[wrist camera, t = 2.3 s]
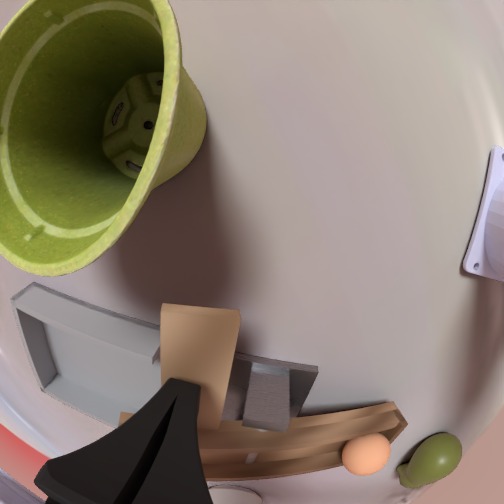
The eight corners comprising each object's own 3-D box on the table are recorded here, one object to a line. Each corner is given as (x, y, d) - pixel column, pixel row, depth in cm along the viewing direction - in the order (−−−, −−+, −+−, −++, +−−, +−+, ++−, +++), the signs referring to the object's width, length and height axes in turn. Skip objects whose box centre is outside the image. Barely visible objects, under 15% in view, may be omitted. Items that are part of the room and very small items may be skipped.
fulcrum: (317, 366, 17) (324, 423, 13) (282, 437, 20) (280, 484, 16) (225, 350, 17) (210, 406, 13) (212, 425, 20) (200, 471, 16)
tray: (169, 328, 17) (152, 358, 14) (169, 418, 21) (159, 444, 18) (34, 281, 17) (10, 298, 15) (56, 372, 21) (41, 390, 18)
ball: (372, 414, 16) (407, 439, 14) (352, 439, 18) (383, 463, 15) (344, 440, 14) (384, 469, 12) (324, 464, 15) (358, 491, 13)
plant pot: (68, 181, 14) (-45, 215, 6) (117, 36, 11) (14, -13, 3) (199, 238, 15) (117, 333, 7) (269, 70, 12) (253, -32, 4)
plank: (444, 310, 14) (469, 333, 12) (361, 441, 19) (372, 462, 16) (102, 292, 10) (83, 330, 8) (132, 452, 15) (130, 481, 12)
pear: (476, 460, 14) (429, 490, 19) (464, 419, 18) (423, 456, 23) (432, 476, 14) (389, 500, 19) (422, 430, 19) (385, 464, 24)
